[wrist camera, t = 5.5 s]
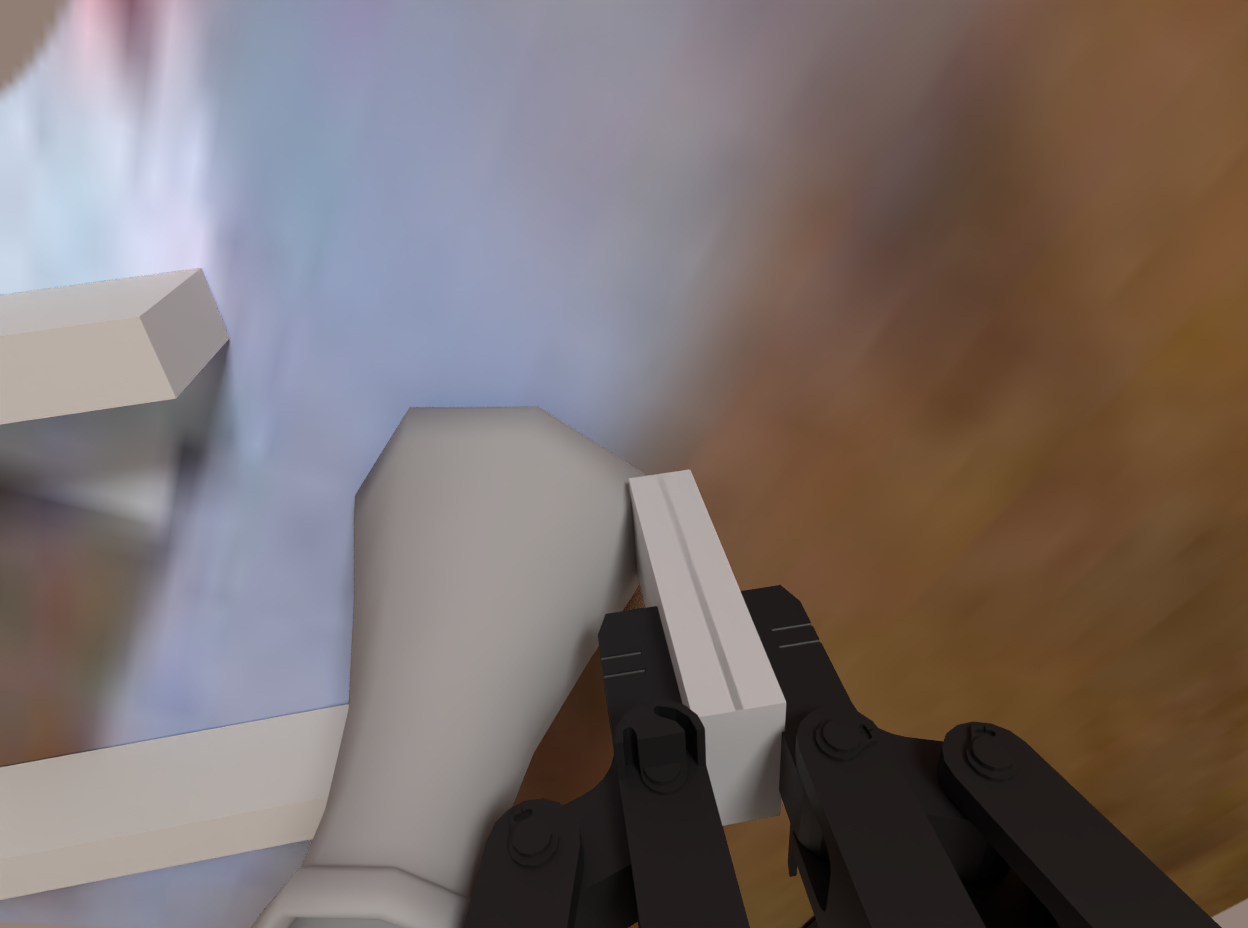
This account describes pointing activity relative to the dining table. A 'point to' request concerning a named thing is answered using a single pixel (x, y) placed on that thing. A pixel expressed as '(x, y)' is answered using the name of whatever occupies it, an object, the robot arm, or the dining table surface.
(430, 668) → the flask
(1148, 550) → the dining table surface
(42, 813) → the white u-shaped stand
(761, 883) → the dining table surface
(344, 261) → the dining table surface
